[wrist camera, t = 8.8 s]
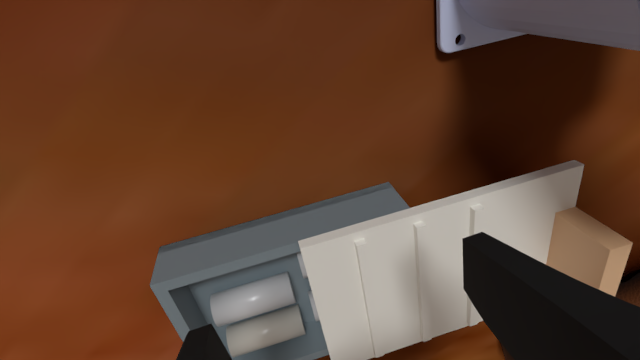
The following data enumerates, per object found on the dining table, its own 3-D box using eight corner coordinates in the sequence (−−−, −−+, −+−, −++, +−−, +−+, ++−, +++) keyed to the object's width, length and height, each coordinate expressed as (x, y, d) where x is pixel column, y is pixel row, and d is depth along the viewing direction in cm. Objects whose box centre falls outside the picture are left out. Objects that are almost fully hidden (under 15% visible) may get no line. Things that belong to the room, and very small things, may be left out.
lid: (553, 149, 20) (648, 196, 15) (533, 274, 25) (601, 338, 20) (293, 224, 18) (314, 301, 14) (325, 342, 23) (349, 427, 19)
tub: (388, 182, 21) (410, 208, 18) (399, 291, 25) (418, 324, 23) (159, 246, 19) (149, 285, 17) (214, 350, 24) (213, 392, 21)
